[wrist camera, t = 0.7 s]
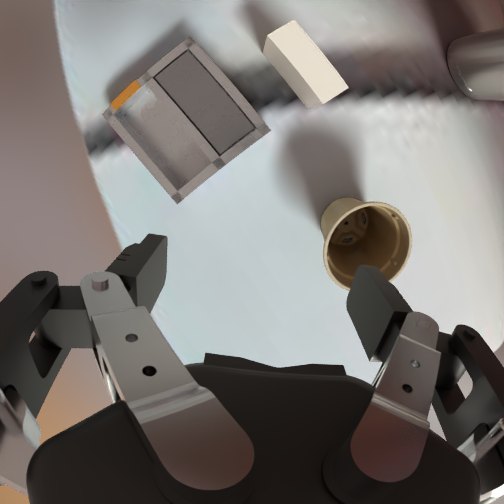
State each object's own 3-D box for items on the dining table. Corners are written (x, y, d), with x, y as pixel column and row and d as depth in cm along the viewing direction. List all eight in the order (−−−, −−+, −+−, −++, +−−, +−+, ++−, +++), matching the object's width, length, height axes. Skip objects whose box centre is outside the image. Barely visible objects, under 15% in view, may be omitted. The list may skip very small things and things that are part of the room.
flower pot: (332, 271, 38) (352, 309, 30) (290, 214, 35) (304, 242, 27) (390, 229, 35) (424, 257, 27) (355, 168, 32) (387, 182, 24)
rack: (193, 43, 26) (187, 34, 23) (268, 130, 31) (271, 130, 27) (113, 113, 29) (99, 112, 26) (183, 196, 33) (176, 204, 30)
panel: (284, 40, 26) (293, 19, 20) (328, 94, 29) (348, 87, 23) (262, 53, 27) (267, 35, 21) (307, 108, 30) (323, 104, 23)
